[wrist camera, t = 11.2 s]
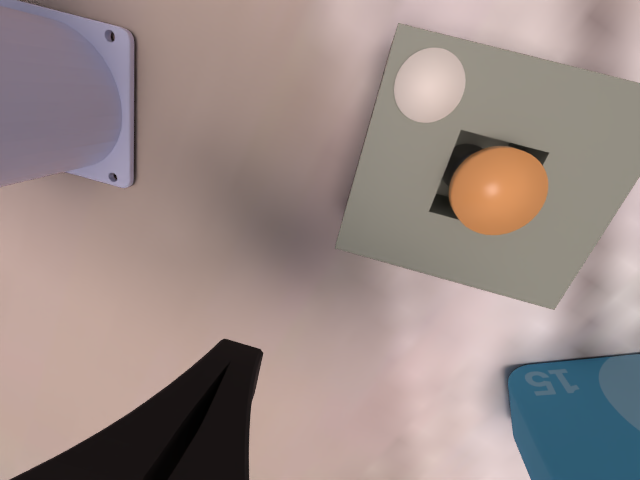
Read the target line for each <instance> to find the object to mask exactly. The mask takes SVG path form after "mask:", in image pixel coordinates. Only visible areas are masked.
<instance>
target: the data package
mask: <svg viewBox="0 0 640 480" xmlns="http://www.w3.org/2000/svg"><path fill="white" fill-rule="evenodd" d="M508 390H509V400H510V409H511V419H512V429H513V436H514V439H515V442H516V444H517V447H518V449H519V452H520V454H521V456H522V459H523V461H524V464H525V466H526V469H527V471H528V474H529V476H530V478H531V480H640V354H632V355H622V356H611V357H601V358H591V359H580V360H570V361H559V362H549V363H539V364H529V365H524V366H521V367H519V368H517V369H515V370H514V371H513V372H512V373H511V374H510V376H509V379H508Z"/></svg>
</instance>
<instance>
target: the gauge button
mask: <svg viewBox="0 0 640 480" xmlns="http://www.w3.org/2000/svg"><path fill="white" fill-rule="evenodd" d="M442 179H443V181H444V182H445V183H446V184H447V186H448V187H449V201H450V205H451V207H452V210H453V211H454V213H455V214H456V216H457V217H458V219H459V220H460V221H461V222H462V223H463V224H464V225H465V226H466V227H467V228H469V229H470V230H472V231H474V232H477V233H480V234H484V235H502V234H507V233H510V232H513V231H516V230H518V229H520V228H521V227H523V226H525V225H526V224H527V223H529V222H530V221H531V220H532V219H533V218H534V217H535V216H536V215H537V214H538V213H539V211H540V210H541V208H542V207H543V205H544V203H545V200H546V197H547V194H548V177H547V174H546V171H545V169H544V167H543V166H542V164H541V163H540V162H539V161H538V160H537V159H536V158H535V157H534V156H532V155H531V154H529V153H527V152H525V151H522V150H519V149H516V148H513V147H508V146H493V147H488V148H485V149H483V148H481V147H479V146H477V145H474V144H460V145H457V146H455V147H454V149H453V152H452V154H451V157H450V159H449V162H448V164H447V167H446V169H445V172H444V175H443V177H442Z"/></svg>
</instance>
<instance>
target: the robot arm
mask: <svg viewBox="0 0 640 480" xmlns="http://www.w3.org/2000/svg"><path fill="white" fill-rule="evenodd" d="M112 32H113V33H114V35H115V40H114V41H112V40H111V33H112ZM62 172H67V173H70V174H74V175H78V176H81V177H85V178H88V179H92V180H95V181H99V182H103V183H106V184H110V185H113V186H117V187H120V188H127V187H130V186H131V185H132V184H133V181H134V38H133V36H132V33H131V32H130V31H129V30H127V29H125V28H123V27H119V26H115V25H111V24H107V23H104V22H100V21H96V20H92V19H88V18H84V17H80V16H76V15H73V14H69V13H65V12H61V11H57V10H53V9H49V8H45V7H42V6H38V5H34V4H30V3H26V2H22V1H18V0H0V187H2V186H7V185H11V184H15V183H19V182H24V181H28V180H32V179H36V178H41V177H45V176H49V175H53V174H57V173H62ZM113 174H115V175H116V176H117V180H116V179H115V178H114V175H113ZM262 357H263V352H262V351H261V349H258V348H255V347H251V346H248V345H244V344H241V343H238V342H234V341H231V340H228V339H223V340H221V341H220V342H219V343H218V344H217V345H216V346H215V347H214V348H212V349H211V350H210V351H209V352H208V353H207V354H206V355H205V356H204V357H202V358H201V359H200V360H199V361H198V362H197V363H195V364H194V365H193V366H192V367H191V368H189V369H188V370H187V371H186V372H184V373H183V374H182V375H181V376H179V377H178V378H177V379H176V380H174V381H173V382H172V383H171V384H169V385H168V386H167V387H165V388H164V389H163V390H161V391H160V392H158V393H157V394H156V395H154V396H153V397H152V398H150V399H149V400H147V401H146V402H145V403H143V404H142V405H140V406H139V407H137V408H136V409H135V410H133V411H132V412H130V413H129V414H127V415H125V416H124V417H122V418H121V419H119V420H118V421H116V422H114V423H113V424H111V425H110V426H108V427H107V428H105V429H103V430H102V431H100V432H98V433H96V434H95V435H93V436H91V437H90V438H88V439H86V440H84V441H83V442H81V443H79V444H77V445H76V446H74V447H72V448H70V449H69V450H67V451H65V452H63V453H61V454H59V455H57V456H56V457H54V458H52V459H50V460H48V461H46V462H44V463H42V464H40V465H38V466H36V467H34V468H32V469H30V470H28V471H26V472H24V473H22V474H20V475H18V476H16V477H14V478H12V479H10V480H249V428H250V412H251V403H252V399H253V396H254V393H255V389H256V384H257V380H258V375H259V370H260V366H261V361H262Z"/></svg>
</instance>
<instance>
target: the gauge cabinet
mask: <svg viewBox="0 0 640 480" xmlns="http://www.w3.org/2000/svg"><path fill="white" fill-rule="evenodd" d="M460 144H474V145H477V146H479V147H481V148H483V149H485V148H488V147H493V146H508V147H513V148H516V149H519V150H522V151H525V152H527V153H529V154H531V155H532V156H534V157H535V158H536V159H537V160H538V161H539V162H540V163H541V164H542V166H543V167H544V169H545V171H546V174H547V177H548V194H547V197H546V200H545V203H544V205H543V207H542V208H541V210H540V211H539V213H538V214H537V215H536V216H535V217H534V218H533V219H532V220H531V221H530V222H529V223H527V224H526V225H525V226H523V227H521V228H520V229H518V230H516V231H513V232H510V233H507V234H502V235H484V234H480V233H477V232H474V231H472V230H470V229H469V228H467V227H466V226H465V225H464V224H463V223H462V222H461V221H460V220H459V219H458V217H457V216H456V214H455V213H454V211H453V210H452V207H451V205H450V201H449V187H448V186H447V184H446V183H445V182H444V181H443V179H442V177H443V175H444V172H445V169H446V167H447V164H448V162H449V159H450V157H451V154H452V152H453V149H454V147H455V146H457V145H460ZM639 177H640V83H637V82H633V81H629V80H625V79H621V78H617V77H613V76H609V75H605V74H601V73H597V72H593V71H589V70H585V69H581V68H577V67H573V66H569V65H565V64H561V63H557V62H553V61H549V60H545V59H541V58H537V57H533V56H529V55H525V54H521V53H517V52H513V51H509V50H505V49H501V48H497V47H493V46H489V45H485V44H481V43H477V42H473V41H469V40H465V39H461V38H456V37H452V36H448V35H444V34H440V33H436V32H432V31H428V30H424V29H420V28H416V27H412V26H408V25H404V24H400V23H398V26H397V29H396V33H395V36H394V39H393V42H392V45H391V48H390V52H389V56H388V59H387V63H386V66H385V70H384V73H383V77H382V80H381V84H380V88H379V91H378V95H377V98H376V102H375V105H374V109H373V112H372V116H371V119H370V123H369V127H368V130H367V134H366V137H365V141H364V144H363V148H362V151H361V155H360V158H359V162H358V166H357V169H356V173H355V176H354V180H353V183H352V187H351V190H350V194H349V197H348V201H347V205H346V208H345V212H344V215H343V219H342V223H341V227H340V231H339V234H338V238H337V242H336V246H335V249H339V250H342V251H346V252H349V253H353V254H356V255H360V256H364V257H367V258H371V259H374V260H378V261H381V262H385V263H389V264H392V265H396V266H399V267H403V268H406V269H410V270H413V271H417V272H421V273H424V274H428V275H431V276H435V277H438V278H442V279H446V280H449V281H453V282H456V283H460V284H463V285H467V286H471V287H474V288H478V289H481V290H485V291H488V292H492V293H496V294H499V295H503V296H506V297H510V298H513V299H517V300H521V301H524V302H528V303H531V304H535V305H538V306H542V307H546V308H549V309H553V310H554V309H555V308H556V306H557V305H558V303H559V302H560V300H561V299H562V297H563V295H564V294H565V292H566V291H567V289H568V288H569V286H570V284H571V283H572V281H573V280H574V278H575V277H576V275H577V274H578V272H579V270H580V269H581V267H582V266H583V264H584V263H585V261H586V259H587V258H588V256H589V255H590V253H591V252H592V250H593V249H594V247H595V245H596V244H597V242H598V241H599V239H600V238H601V236H602V234H603V233H604V231H605V230H606V228H607V227H608V225H609V224H610V222H611V220H612V219H613V217H614V216H615V214H616V213H617V211H618V209H619V208H620V206H621V205H622V203H623V202H624V200H625V199H626V197H627V195H628V194H629V192H630V191H631V189H632V188H633V186H634V185H635V183H636V181H637V180H638V178H639Z"/></svg>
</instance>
